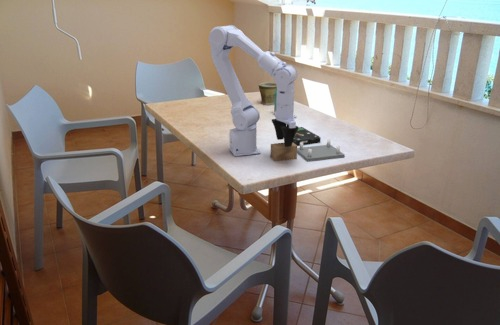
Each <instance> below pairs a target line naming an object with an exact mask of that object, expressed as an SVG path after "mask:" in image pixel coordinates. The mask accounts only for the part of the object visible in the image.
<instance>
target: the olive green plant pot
mask: <svg viewBox="0 0 500 325" xmlns="http://www.w3.org/2000/svg"><path fill="white" fill-rule="evenodd" d="M258 89H259V94H260V99H261V104H262V105H264V106H274V103H275V92H276V89H277V84H276V83H275V82H262V83H259V84H258Z"/></svg>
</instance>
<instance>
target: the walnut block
mask: <svg viewBox="0 0 500 325" xmlns="http://www.w3.org/2000/svg"><path fill="white" fill-rule="evenodd" d="M297 148H298V146H297V145H296V144H294V143H292V146H290V147H285V144H284V142H278V143H277V142H276V143H270V158H271V159H272V161H274V162H284V161H285V162H286V161H292V160H297V158H298V153H297Z"/></svg>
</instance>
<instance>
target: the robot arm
mask: <svg viewBox="0 0 500 325" xmlns="http://www.w3.org/2000/svg"><path fill="white" fill-rule="evenodd" d="M208 35H209V36H208V37H207V40H208V42H209V45H210V58H211V61H212V62H213V64H214V66H215V69H216V71H217V73H218V74H217V75H218V77H219V78H220V81H221V83H222V84H223V87H224V89H225V91H226V94H227V96H228V98H229V100H230V103H231V109H230V114H231V117H232V119H231V120H232V124H233V126H234V127H235V128H231V129H230V130H229V136H228V137H229V149H228V150H230V153H231V154H232V155H233V156H234V157H241V156H250V155H259V154H261V152H260V151H259V149H258V148H257V129H258V128H257V123H258V122H259V120H260V118H261V115H260V111H259V110H258V109H257V108H256V107H255V105H254V104H253V102H252V101H251V100H250V99H248V98H247V96H246V94H245V91H244V88H243V87H242V85H241V83H240V80H239V79H238V75H237V74H236V72H235V69H234V67H233V64H232V62H231V60H230V57H229V56H230V53H231V50H232V49H233V47H237V48H238V47H239V48H240V49H241V50H242V51H244V52H245V53H246V54H248V55H249V56H251V57H252V58H254V59H255V60H256V61H257V65H258V67H259V68H261V69H262V70H264V71H265V72H266V73H267V74H268V75H270V77H272V78H273V80H274V83H276V84H277V102H276V112H275V113H274V118H273V119H271V123H272V124H273V126H274V127H273V128H274V130H275V135H276V139H277V140H278V141H279V140H283V143H284V144H285V147H290V146H292V143H293V139H294V136H295V134H296V132H297V131H298V129H299V127H300V126H298V125H297V122H296V121H295V119H298V118H297V117H298V116H297V115H296V114H294V108H295V107H294V106H295V81H296V80H297V78H298V71H297V69H296V68H295V67H294V65H291V64H287V62H285V61H282V60H281V59H280V58H279V57H277V56H276V53H275V52H274V51H269V50H267V51H263V50H262V49H261V48H260V47H259V46H258V45H257V44H256V43H255V42H253V41H252V40H251V39H250V38H249V37H248V36H246V35H245V34H244V32H243V31H242V30H241V29H239V28H237V27H236V26H235V25H234V24H233V25H232V24H228V25H223V26H215V27H213V28H212V29H211V30H210V32H209V34H208Z"/></svg>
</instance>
